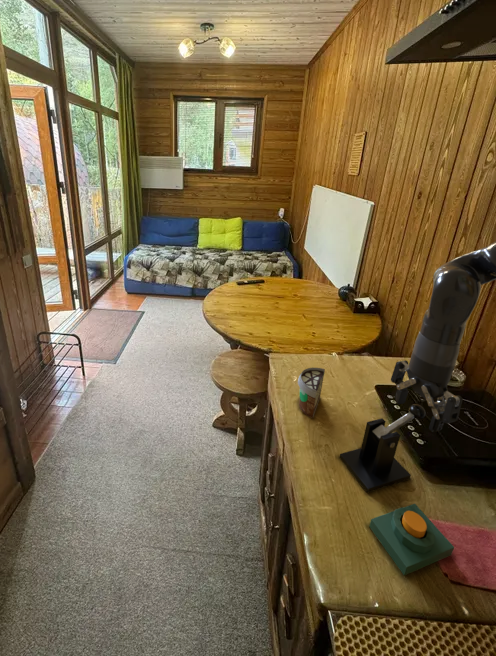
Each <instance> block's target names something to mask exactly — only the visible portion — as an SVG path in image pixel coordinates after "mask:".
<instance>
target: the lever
mask: <svg viewBox="0 0 496 656" xmlns="http://www.w3.org/2000/svg"><path fill="white" fill-rule="evenodd" d="M426 413H427V412H426V410H425V408H424V407H423V406H422V405H420V404H418V403H417V404H416V403H414V404H411V405H409V407H408V413H406V414H404V415H403V416H401V417H400V418H398V419H397V420H395V421H394V422H392V423H391V424H389V425H387V426H383V425H380V426H379V427H377V428H376V429H374V430H373V431H372V432H373V436H374V438H375V439H376V440H377V441H378V442H379V441H380V437H381V436H383V435H386V434H390V433H394V432H396V431H397V430H399V429H400V428H401V427H403V426H404V425H406V424H408V423H409V422H411V421H412V420H414V419H415V420H424V418H425V417H426Z"/></svg>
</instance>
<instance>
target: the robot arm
mask: <svg viewBox="0 0 496 656" xmlns="http://www.w3.org/2000/svg"><path fill="white" fill-rule="evenodd" d="M495 280H496V240H495V241H494V242H492V243H490V244H488V245H486V246H485V247H482V248H479V249H476V250H474V251H471V252H468V253H466V254H463V255H460V256H458V257H456V258H453V259H451V260H449V261H447V262H446V263H444V264H442V265H441V266H439V267H438V268H437V269H436V270H435V272H434V273H433V277H432V282H433V286H432V291H431V297H430V300H429V306H428V308H427V309H426V310H425V312H424V315H423V317H422V320H421V324H420V328H419V332H418V333H417V336H416V337H415V338H416V339H415V341H414V345H413V349H412V352H411V356H410V359H409V362H408V360H406V359H404V360H400V361H399V360H398V361H396V362H395V365H394V368H393V371H392V375H391V377H390V382H391V383H392V384H395V386H396V393H395V399H394V400H395V403H396V404H397V405H403V404H405V403H406V401H407V397H408V393H409V388H411V389H412V391H413V392H415V393H416V394H418V395H420V397H422V398H423V399H424V400H426V403H427V406H428V407H429V408H430V409H431V412H432V415H433V416H431V420H430V423H429V427H428V430H429V431H430V432H432V433H434V432H435V433H436V432H440V431H441V430H443V428H444V425H445V424H446V425H447V424H451V423H455V422H457V421H459V420H458V419H459V416H460V412H461V409H462V404H463V401H464V399H463V397H462V396H461V395H459V394H457V395H454V394H453V393H452V392H450V391H449V390H448V384H449V383H450V381H451V378H452V376H453V372H454V369H455V366H456V363H457V360H458V357H459V353H460V348H461V343H462V339H463V337H464V333H465V330H466V326H467V322H468V320H469V319H470V317H471V315H472V313H473V311H474V309H475V307H476V306H477V304H478V301H479V297H480V295H481V290H482V286H483V285H485V284H488V283H490V282H494V281H495ZM406 374H407V378H408V379H407V380H405V381H404V378H405V375H406ZM435 399H436V401H434V400H435Z"/></svg>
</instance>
